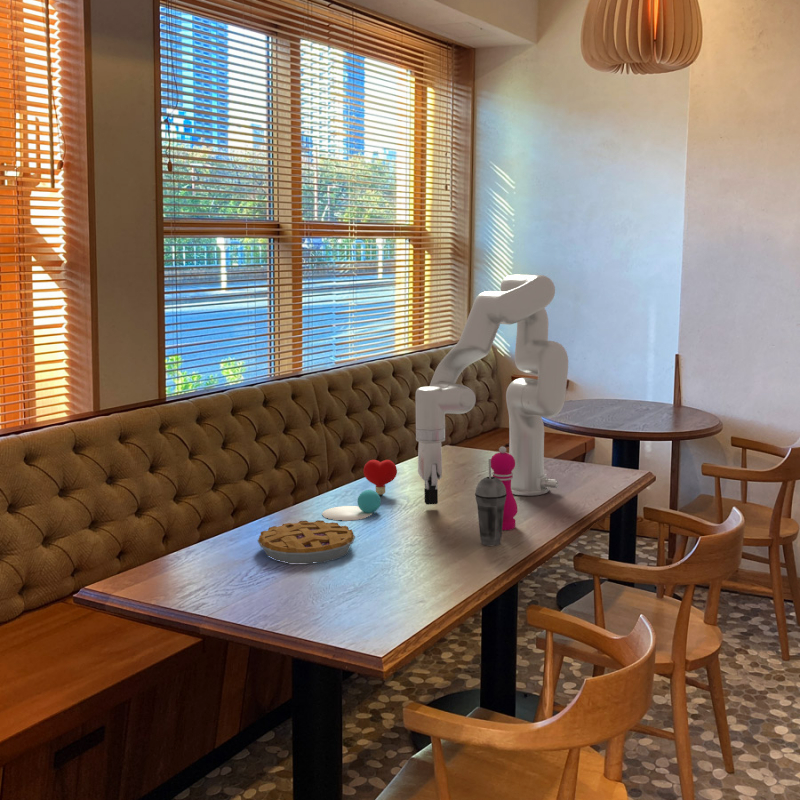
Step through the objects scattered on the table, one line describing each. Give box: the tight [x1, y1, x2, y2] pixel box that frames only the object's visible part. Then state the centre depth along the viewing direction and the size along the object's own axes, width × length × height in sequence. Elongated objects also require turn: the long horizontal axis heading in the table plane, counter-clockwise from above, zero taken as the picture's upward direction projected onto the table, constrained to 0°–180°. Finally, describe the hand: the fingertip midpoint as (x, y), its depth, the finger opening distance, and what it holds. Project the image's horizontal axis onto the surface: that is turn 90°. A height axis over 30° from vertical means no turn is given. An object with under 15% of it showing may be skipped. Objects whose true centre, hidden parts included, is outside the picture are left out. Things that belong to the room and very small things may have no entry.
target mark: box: [321, 505, 373, 522], centre depth 240 cm, size 13×13×1 cm
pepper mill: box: [490, 446, 519, 531], centre depth 225 cm, size 7×7×20 cm
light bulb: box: [363, 459, 398, 497], centre depth 256 cm, size 9×7×10 cm
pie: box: [257, 519, 356, 564], centre depth 210 cm, size 22×22×5 cm
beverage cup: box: [474, 458, 507, 547], centre depth 212 cm, size 7×7×20 cm
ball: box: [357, 489, 382, 514], centre depth 240 cm, size 6×6×6 cm
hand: (431, 503), depth 242 cm, fingers closed
